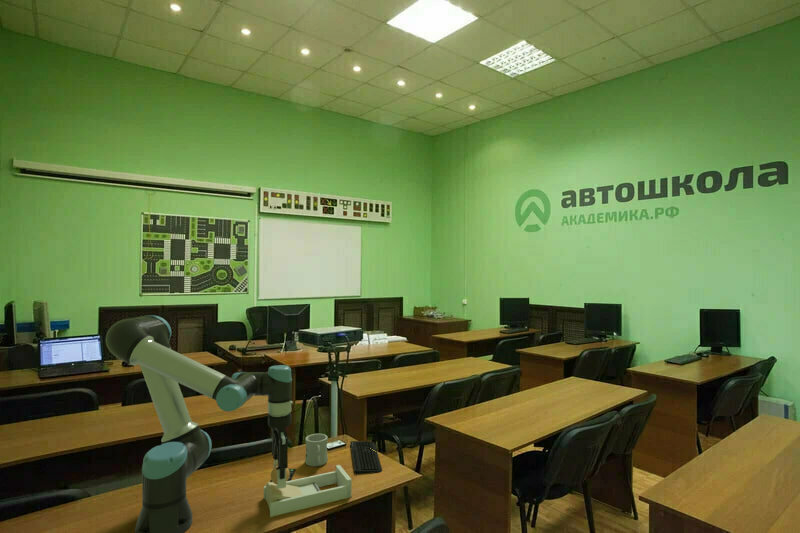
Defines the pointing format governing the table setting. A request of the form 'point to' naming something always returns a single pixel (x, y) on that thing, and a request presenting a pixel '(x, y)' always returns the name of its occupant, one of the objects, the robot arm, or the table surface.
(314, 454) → the mug
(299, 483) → the lane
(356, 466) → the keyboard
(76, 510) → the table surface
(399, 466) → the table surface
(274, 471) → the ball
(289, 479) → the smartphone
